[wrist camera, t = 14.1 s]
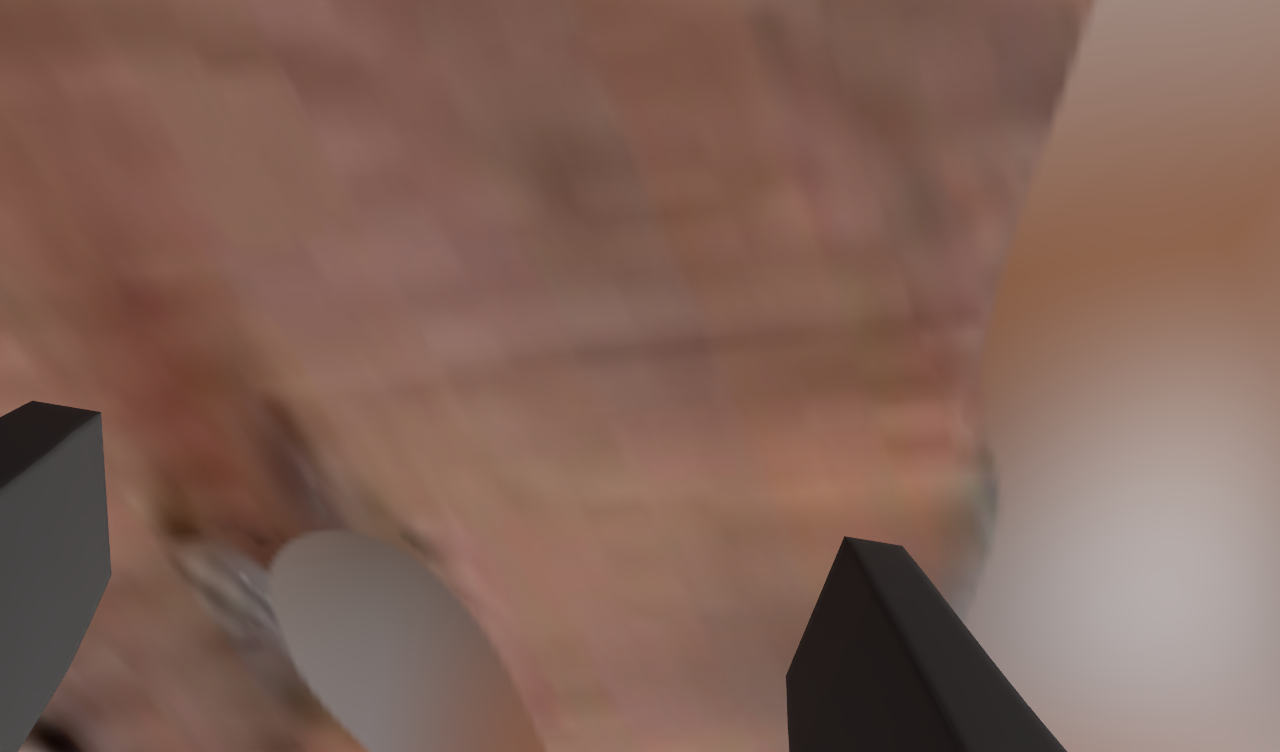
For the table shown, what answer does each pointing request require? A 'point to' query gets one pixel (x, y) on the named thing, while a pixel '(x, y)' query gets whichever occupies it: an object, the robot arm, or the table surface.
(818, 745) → the robot arm
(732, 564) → the table surface
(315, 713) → the table surface
